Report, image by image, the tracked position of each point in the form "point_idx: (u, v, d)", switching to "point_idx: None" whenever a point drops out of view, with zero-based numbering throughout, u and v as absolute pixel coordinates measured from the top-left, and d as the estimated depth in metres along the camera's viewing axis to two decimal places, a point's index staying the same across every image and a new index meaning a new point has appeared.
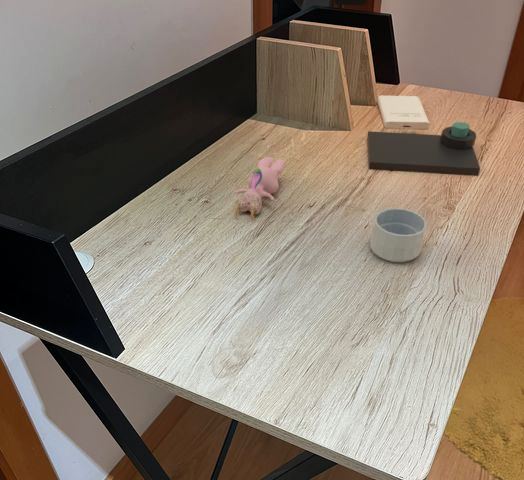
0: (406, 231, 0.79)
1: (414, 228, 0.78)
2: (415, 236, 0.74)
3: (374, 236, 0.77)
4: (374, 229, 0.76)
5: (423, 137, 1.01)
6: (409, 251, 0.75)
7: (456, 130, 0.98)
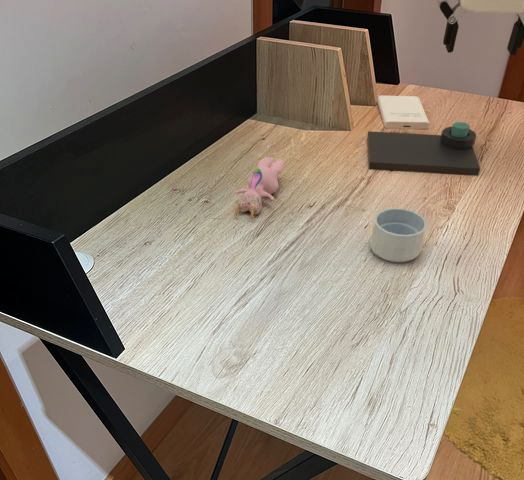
0: (406, 231, 0.79)
1: (414, 228, 0.78)
2: (415, 236, 0.74)
3: (374, 236, 0.77)
4: (374, 229, 0.76)
5: (423, 137, 1.01)
6: (409, 251, 0.75)
7: (456, 130, 0.98)
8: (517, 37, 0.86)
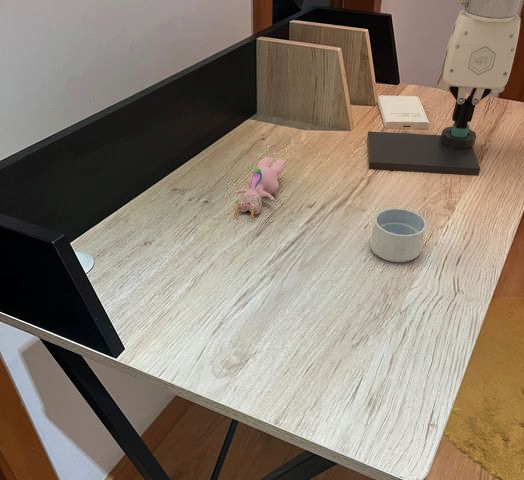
0: (406, 231, 0.79)
1: (414, 228, 0.78)
2: (415, 236, 0.74)
3: (374, 236, 0.77)
4: (374, 229, 0.76)
5: (423, 137, 1.01)
6: (409, 251, 0.75)
7: (456, 130, 0.98)
8: (467, 113, 0.95)
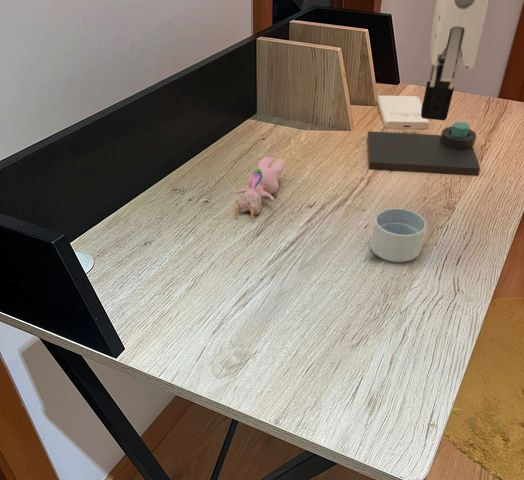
0: (406, 231, 0.79)
1: (414, 228, 0.78)
2: (415, 236, 0.74)
3: (374, 236, 0.77)
4: (374, 229, 0.76)
5: (423, 137, 1.01)
6: (409, 251, 0.75)
7: (456, 130, 0.98)
8: None
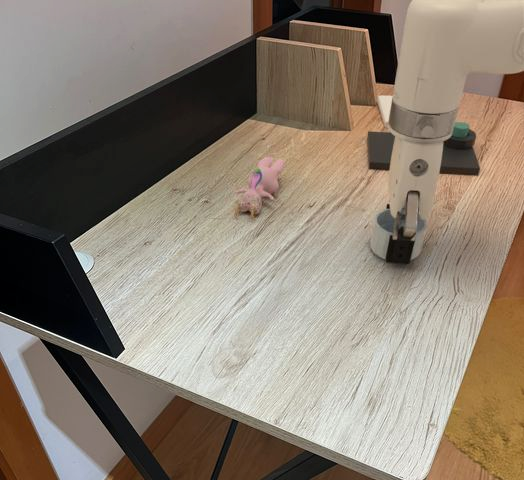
0: None
1: None
2: None
3: (374, 236, 0.77)
4: (374, 229, 0.76)
5: None
6: None
7: (456, 130, 0.98)
8: None
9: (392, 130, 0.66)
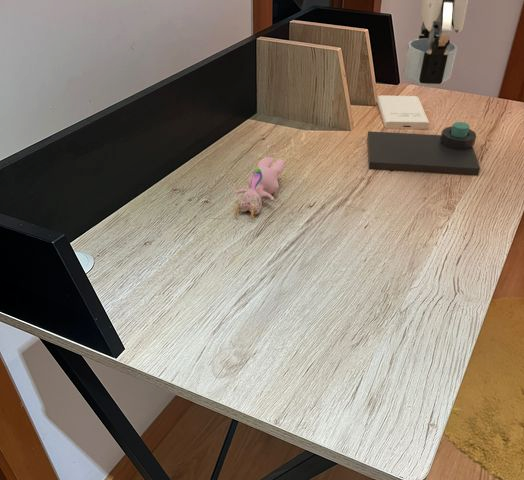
0: None
1: None
2: None
3: (408, 60, 0.83)
4: (408, 53, 0.83)
5: (423, 137, 1.01)
6: None
7: (456, 130, 0.98)
8: None
9: None
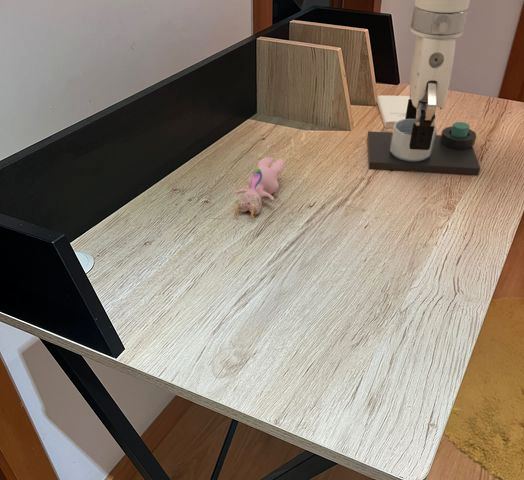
0: None
1: None
2: None
3: (393, 140, 0.94)
4: (393, 133, 0.94)
5: None
6: (422, 150, 0.93)
7: (456, 130, 0.98)
8: None
9: (414, 31, 0.83)
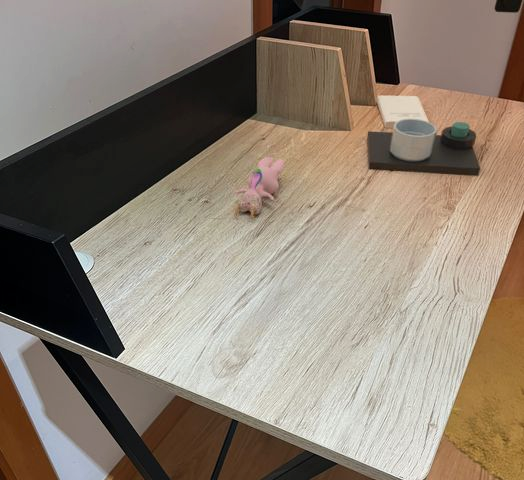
0: None
1: (426, 135, 0.96)
2: (427, 137, 0.92)
3: (393, 140, 0.94)
4: (393, 133, 0.94)
5: None
6: (422, 150, 0.93)
7: (456, 130, 0.98)
8: None
9: None
